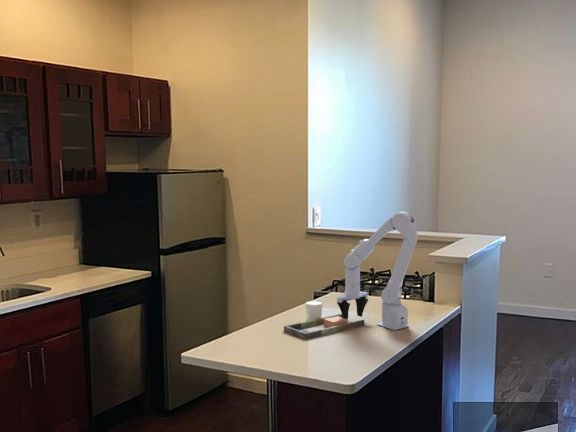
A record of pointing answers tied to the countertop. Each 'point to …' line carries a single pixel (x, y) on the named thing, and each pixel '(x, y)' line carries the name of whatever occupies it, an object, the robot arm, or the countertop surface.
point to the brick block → (335, 321)
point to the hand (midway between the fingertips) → (352, 317)
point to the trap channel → (297, 331)
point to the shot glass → (313, 310)
